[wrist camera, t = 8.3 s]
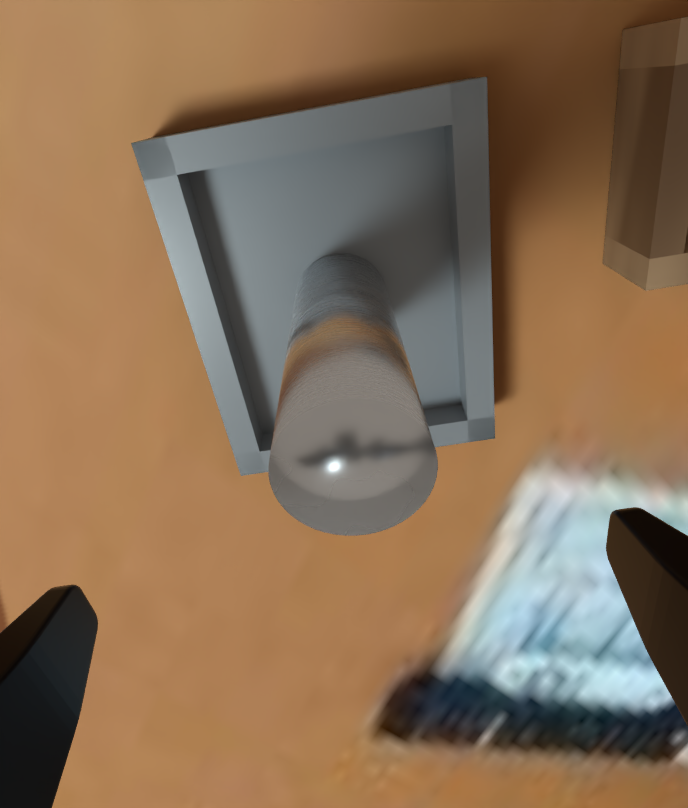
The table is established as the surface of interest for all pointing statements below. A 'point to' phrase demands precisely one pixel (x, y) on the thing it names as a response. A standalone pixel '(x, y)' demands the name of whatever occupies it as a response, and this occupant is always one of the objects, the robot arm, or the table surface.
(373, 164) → the tray
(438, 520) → the table surface
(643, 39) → the socket
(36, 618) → the robot arm
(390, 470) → the pin
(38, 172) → the table surface
